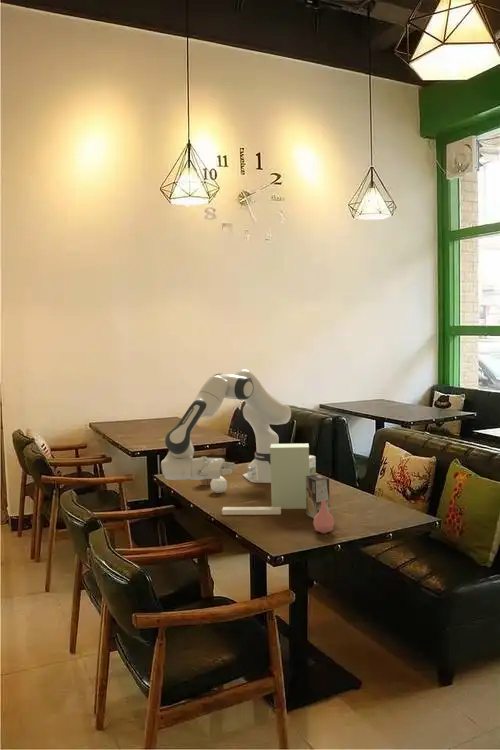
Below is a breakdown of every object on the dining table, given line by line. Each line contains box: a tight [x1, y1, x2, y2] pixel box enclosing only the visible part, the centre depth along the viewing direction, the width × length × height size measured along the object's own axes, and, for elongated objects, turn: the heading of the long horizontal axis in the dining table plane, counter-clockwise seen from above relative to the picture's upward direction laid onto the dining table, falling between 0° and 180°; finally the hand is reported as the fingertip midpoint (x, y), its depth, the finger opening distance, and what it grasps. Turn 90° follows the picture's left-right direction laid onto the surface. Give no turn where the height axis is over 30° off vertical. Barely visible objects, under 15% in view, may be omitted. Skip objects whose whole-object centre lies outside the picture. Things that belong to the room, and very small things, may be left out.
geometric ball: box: [209, 475, 228, 494], centre depth 301 cm, size 8×8×8 cm
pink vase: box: [312, 500, 335, 534], centre depth 241 cm, size 8×8×12 cm
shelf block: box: [270, 443, 310, 510], centre depth 276 cm, size 16×8×26 cm, turn 86°
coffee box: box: [305, 473, 331, 519], centre depth 261 cm, size 9×6×16 cm
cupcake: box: [200, 479, 212, 486], centre depth 316 cm, size 9×9×10 cm
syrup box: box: [309, 454, 317, 476], centre depth 307 cm, size 6×6×14 cm
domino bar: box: [221, 506, 282, 516], centre depth 268 cm, size 24×4×2 cm, turn 86°
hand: (233, 468), depth 267 cm, fingers open, 8 cm apart
